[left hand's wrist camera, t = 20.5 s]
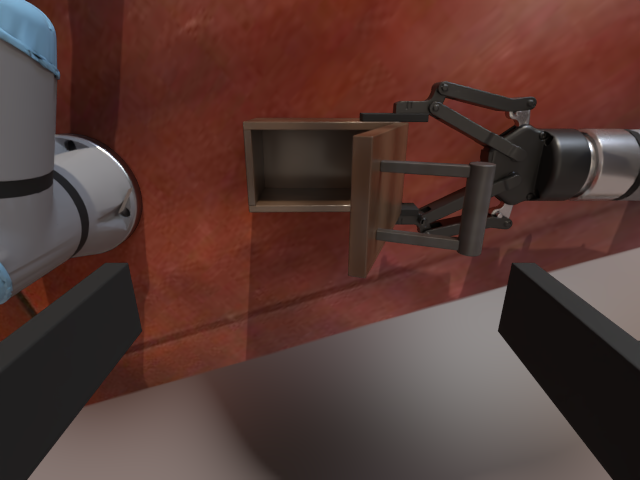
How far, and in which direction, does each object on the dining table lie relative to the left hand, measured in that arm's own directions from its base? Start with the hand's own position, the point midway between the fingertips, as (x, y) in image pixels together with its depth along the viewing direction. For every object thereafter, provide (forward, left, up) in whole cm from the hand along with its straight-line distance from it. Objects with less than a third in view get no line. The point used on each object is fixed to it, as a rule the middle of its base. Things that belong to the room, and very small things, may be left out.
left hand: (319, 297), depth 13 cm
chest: (0, 0, -35) cm, 35 cm away
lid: (+4, -2, -18) cm, 19 cm away
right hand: (+4, -2, -28) cm, 28 cm away
